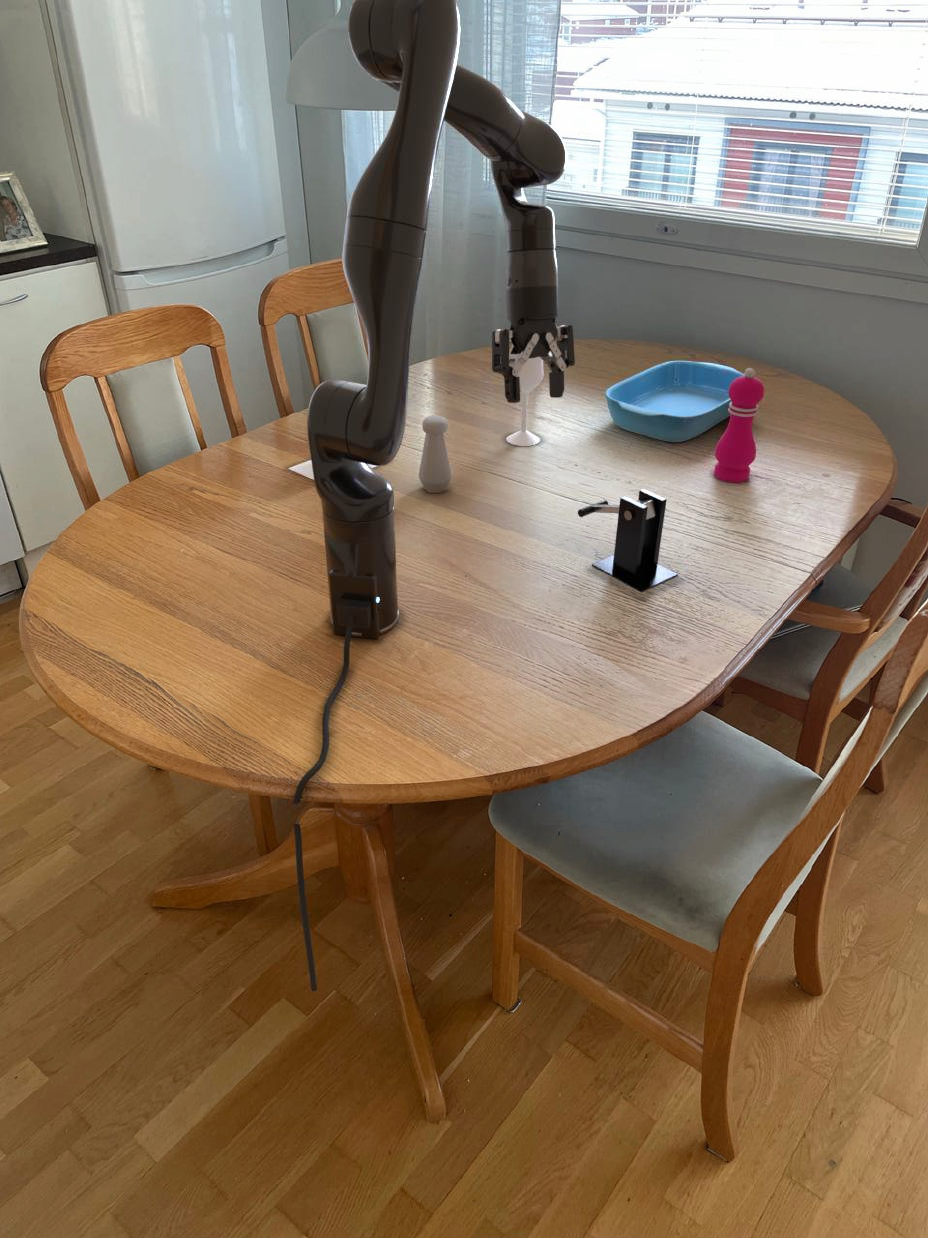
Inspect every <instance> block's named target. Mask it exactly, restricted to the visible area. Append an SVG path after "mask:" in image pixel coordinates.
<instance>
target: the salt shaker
mask: <svg viewBox="0 0 928 1238" xmlns="http://www.w3.org/2000/svg"><path fill="white" fill-rule="evenodd" d="M421 426H422V427H421V428H422V432H424V433H425V435H424V441H423V446H422V452H421V460H420V465H419V470H418V479H419V482H420V483H421V486H422V487H423V489H424V490H425V491H426V492H428V493H435V494H439V493H442V492H445V491H447V489H448V488H449V484H450V482H451V480H452V477H453V474H452V469H451V464H450V458H449V454H448V449H447V443H446V439H445V433H447V431H448V426H449V425H448V420H447V419H446V418H445V417H444V416H441V415H428V416H427V417H425V418H424V419H423V420H422V424H421Z"/></svg>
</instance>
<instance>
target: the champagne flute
mask: <svg viewBox="0 0 928 1238" xmlns="http://www.w3.org/2000/svg"><path fill="white" fill-rule="evenodd" d="M512 345H513V344H512V343H511V346H512ZM517 355H518V354H517ZM517 377H519V379H520V393H521V412H520V430H518V431H515V432H514V433H512V434H510V435H508V436H507V437H506V442H507V443H509V444H511V445H514V446H518V447H530V446H534V445H537V444H538V443H540V441H541V439H540V437H539V436H537V435H535V434H534V433H532V432H531V431H529V430H527V429H528V428H527V427H528V406H529V404H528V403H529V393H530V392H533V391H534V390H535V389H536V388H537V387H538V386H539V385H540V383H541V382H542V380H543V379H544V360H542V359H541V357H536V358H528V360H527V362H526V363H525V364H523V366H522V368H521V370H520V372H519V374H518V375H517Z"/></svg>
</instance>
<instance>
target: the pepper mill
mask: <svg viewBox="0 0 928 1238" xmlns="http://www.w3.org/2000/svg"><path fill="white" fill-rule="evenodd" d="M743 374H744V375H745V376H742V377H738V378H736V379H735V380H734V381H733V382H732V383H731V385H730V387H729V391H728V395H729V398H730V399H731V401H732V402H730V403H729V406H730V407H729V409H728V411H729V412H730V416H729V421H728V425H727V427H726V430H725V431H724V433H723V434H722V436H721V437H720V438H719V440H718V442H717V443H716V445H715V449H714V457H715V459H716V461H717V462H716V463H715V465H714V470H713V474H714V476H715V478H717V479H719V480H720V481H723V482H729V483H741V482H745V481H747V480H748V479H749V478H750V474H751V467H750V465H751V464H752V463H753V462H754V461H755V460H756V458H757V457H756V456H757V447H756V441H755V438H754V433H753V423H754V422H753V421H754V417H755V416H756V415H758V410H759V405H758V404H759V403H760V402H761V401H762V400H763V399H764V396H765V386H764V383H763V382H762V380H760V379H759V378H757V377H755V375H756V371H755V370H754V368H751V367H748V368H746V369H745V370H744V372H743Z"/></svg>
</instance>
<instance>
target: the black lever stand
mask: <svg viewBox="0 0 928 1238" xmlns="http://www.w3.org/2000/svg"><path fill="white" fill-rule="evenodd" d="M638 491H639V492H638V498H637V500H653V502H654V509H655V516H654V517H652V518H649V519H647V520H646V517H647V509H648V507H647V506H645V505H643V504H641V503H639V502H636V501H637V500H634V499H632V498H630V497H627V496H622V497H620V498H619V504H618V505H619V513H617V514H618V516H617V525H616V533H615V540H614V541H615V542H614V550H613V551H614V553H613V554H612V555H611V556H607V557H605V558H604V559H600V560H599V561H597V562H594V563H592V564H591V566H592V567H593V568H596V569H597V570H599V571H600V572H603V573H604V574H606V575H608V576H610V577H612V578H614V579H616V580H618V581H619V582H621V583H622V584H625V585H626V586H628V587H630V588H632V589H633V590H636V591H638V592H639V593H644V592H646V591H648V590H650V589H652V588H655V587H656V586H659V585H660V584H663V583H666V582H667V581H669V580H671V579H674V578H675V577H678V576H679V574H678V573H677V572H674V571H673V570H671V569H669V568H667V567H665V566H663V565H662V564H659V557H660V549H661V544H662V537H663V536H662V534H663V528H664V521H665V515H666V508H667V498H665V497H663V496H660V495H658V494H656V493H655V492H652V491H649V490H647V489H645V488H643V489H640V490H638Z"/></svg>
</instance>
